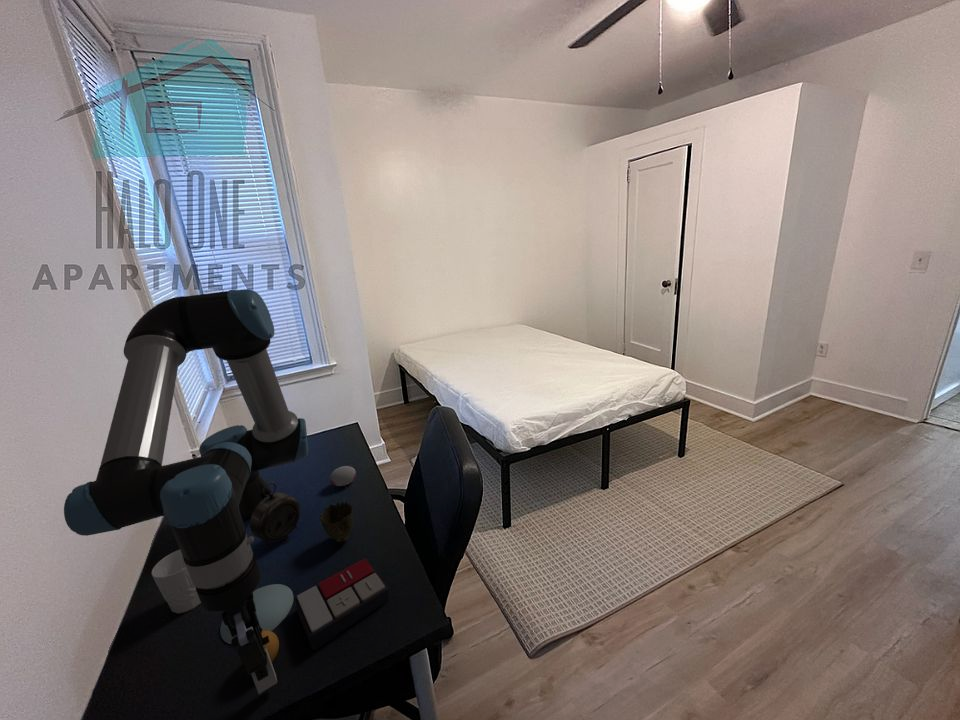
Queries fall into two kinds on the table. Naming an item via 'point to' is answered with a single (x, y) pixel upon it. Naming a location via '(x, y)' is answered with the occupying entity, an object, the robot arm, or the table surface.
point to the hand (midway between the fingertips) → (267, 684)
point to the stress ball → (342, 476)
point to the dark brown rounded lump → (338, 521)
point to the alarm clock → (275, 517)
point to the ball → (271, 644)
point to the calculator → (340, 602)
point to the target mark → (267, 608)
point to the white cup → (175, 583)
